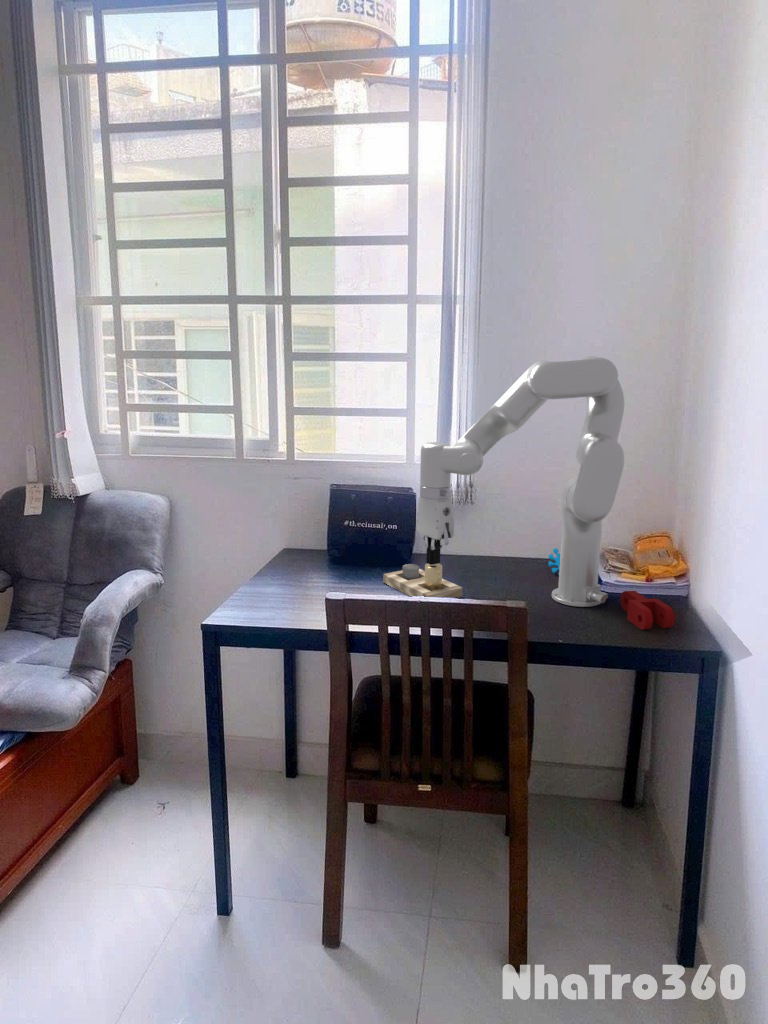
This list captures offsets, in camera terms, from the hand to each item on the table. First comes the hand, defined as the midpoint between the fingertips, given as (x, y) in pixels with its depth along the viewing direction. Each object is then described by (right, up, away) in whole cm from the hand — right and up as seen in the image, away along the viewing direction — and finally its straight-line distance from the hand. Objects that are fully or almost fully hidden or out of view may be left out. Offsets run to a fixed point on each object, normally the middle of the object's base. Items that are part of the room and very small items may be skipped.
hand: (433, 563), depth 186 cm
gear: (+39, -5, +19) cm, 44 cm away
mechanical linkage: (+48, -13, -13) cm, 52 cm away
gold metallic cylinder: (0, -8, +2) cm, 9 cm away
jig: (-3, -7, +6) cm, 10 cm away
